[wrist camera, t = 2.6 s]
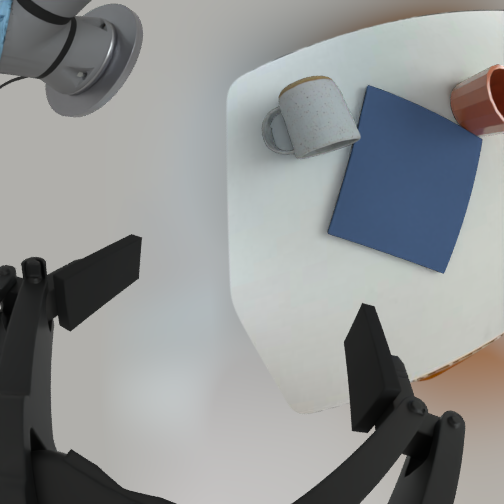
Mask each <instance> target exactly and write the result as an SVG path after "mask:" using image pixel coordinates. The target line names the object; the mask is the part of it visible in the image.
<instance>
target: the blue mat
mask: <svg viewBox="0 0 504 504" xmlns="http://www.w3.org/2000/svg"><path fill="white" fill-rule="evenodd" d="M357 129H358V131H359V133H360V136H361V138H360V140H358V141H357V142H355V143H353V147H352V150H351V154H350V158H349V162H348V165H347V169H346V172H345V176H344V179H343V183H342V186H341V190H340V193H339V196H338V200H337V203H336V206H335V210H334V213H333V216H332V219H331V222H330V226H329V229H328V234H330V235H334V236H337V237H340V238H343V239H346V240H349V241H352V242H355V243H358V244H361V245H364V246H367V247H370V248H373V249H376V250H379V251H382V252H385V253H388V254H391V255H393V256H396V257H399V258H402V259H405V260H408V261H411V262H413V263H416V264H419V265H422V266H424V267H427V268H430V269H433V270H435V271H438V272H441V273H444V272H445V270H446V267H447V265H448V262H449V260H450V257H451V255H452V252H453V249H454V246H455V244H456V241H457V238H458V235H459V232H460V229H461V226H462V223H463V220H464V217H465V213H466V210H467V206H468V203H469V199H470V196H471V192H472V188H473V184H474V180H475V175H476V171H477V166H478V161H479V156H480V151H481V145H482V139H481V138H479V137H478V136H476V135H474V134H473V133H471V132H469V131H468V130H466V129H464V128H462V127H461V126H459V125H457V124H455V123H453V122H452V121H450V120H448V119H446V118H444V117H442V116H440V115H438V114H436V113H434V112H432V111H430V110H428V109H426V108H424V107H422V106H419V105H417V104H415V103H413V102H410V101H408V100H406V99H403V98H401V97H399V96H396V95H394V94H391V93H389V92H386V91H384V90H381V89H378V88H375V87H373V86H370V85H368V86H367V89H366V93H365V98H364V102H363V106H362V111H361V115H360V119H359V123H358V127H357Z"/></svg>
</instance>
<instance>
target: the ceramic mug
mask: <svg viewBox="0 0 504 504" xmlns="http://www.w3.org/2000/svg"><path fill="white" fill-rule="evenodd" d="M279 105H280V106H279V107H277V108H275V109H273V110H272V111H270V112H269V113H268V114H267V115H266V117H265V118H264V121H263V124H262V135H263V139H264V141H265V144H266V145H267V147H268V148H269V149H271V150H272V151H274V152H276V153H279V154H296V157H297V158H298V159H303V158H309V157H313V156H317V155H320V154H324V153H327V152H331V151H334V150H337V149H340V148H342V147H345V146H348V145H351V144H353V143H355V142H357V141H358V140H360V138H361V136H360V133H359V131H358V129H357V127H356V124H355V122H354V119H353V117H352V115H351V113H350V110H349V108H348V106H347V104H346V102H345V100H344V98H343V95H342V93H341V91H340V89H339V88H338V86H337V85H336V84H335V82H334V81H333V80H332V79H330V78H329V77H325V76H312V77H307V78H303V79H301V80H298V81H296V82H294V83H292V84H290V85H288V86H287V87H285V88H284V89H283V90H282V91H281V93H280V95H279ZM280 112H281V113H282V115H283V118H284V121H285V123H286V126H287V129H288V132H289V136H290V139H291V142H292V145H293V148H294V149H293V150H291V151H285V150H281V149H279V148H278V147H277V146H276V145H275V143H274V140H273V136H272V132H271V130H272V128H271V126H270V125H271V122H272V120H273V118H274V117H275V116H276V115H277V114H279V113H280Z"/></svg>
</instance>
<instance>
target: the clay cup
mask: <svg viewBox="0 0 504 504" xmlns="http://www.w3.org/2000/svg"><path fill="white" fill-rule="evenodd" d="M450 101H451V108H452V112H453V114H454V117H455V119H456V120H457V122H458V124H459V125H460V126H461V127H462V128H464V129H466V130H468V131H469V132H471V133H473V134H474V135H476V136H490V135H498V134H504V66H502V65H499V64H497V65H494V66H491V67H489V68H487V69H485V70H484V71H482V72H480V73H478V74H476V75H474V76H472V77H470V78H468V79H467V80H465V81H463V82H461V83H459V84H458V85H457V86H455V87H454V89H453V90H452V93H451V99H450Z"/></svg>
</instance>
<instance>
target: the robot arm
mask: <svg viewBox="0 0 504 504" xmlns="http://www.w3.org/2000/svg"><path fill="white" fill-rule="evenodd" d="M90 1H91V0H0V73H2V74H10V75H17V76H21V77H17V78H14V79H12V80H9V81H8V82H6V83H4V84H2V85H1V86H0V88H2V87H3V86H5V85H7V84H9V83H11V82H14V81H17V80H20V79H24V78H28V77H30V78H37V79H41V80H42V81H43V82H45V83H46V84H47V85H49V86H50V87H51V88H53V89H54V90H55V91H57V92H59V93H61V94H65V95H71V96H73V95H78V94H80V93H82V92H84V91H86V90H87V89H89V88H90V87H91V86H92V85H94V84H95V83H96V82H97V80H98V79H99V78H100V77H101V76H102V74H103V73H104V72H105V70H106V69H107V67H108V65H109V63H110V62H111V59H112V57H113V55H114V52H115V49H116V44H117V31H116V28H115V27H114V25H113V24H112V23H111V22H109V21H107V20H105V19H102V18H98V17H82V16H75V15H77V14H78V12H80V10H82V9H83V8H84V7H85V6H86V5H87V4H88V3H89V2H90ZM141 241H142V237H138V236H135V235H132V234H131V235H129V236H127V237H125V238H123V239H121V240H119V241H117V242H115V243H113V244H111V245H109V246H107V247H105V248H103V249H101V250H99V251H97V252H95V253H93V254H91V255H89V256H87V257H85V258H83V259H79V260H75V261H73V262H71V263H69V264H68V265H65V266H63V267H62V268H60V269H57V270H56V271H54V272H52V273H50V274H48V275H47V271H46V261H45V260H44V259H42V258H39V257H31V258H28V259H25V260H24V261H23V262H22V263H21V265H22V273H23V278H20V277H17V276H16V270H15V268H14V267H13V266H7V265H5V266H1V267H0V305H1V309H0V504H176V503H173V502H171V501H168V500H166V499H163V498H160V497H155V496H150V495H146V494H142V493H137V492H133V491H129V490H126V489H124V488H122V487H121V486H120V485H118V484H117V483H116V482H115V481H114V480H113V479H111V478H110V477H109V476H108V475H107V474H106V473H105V472H103V471H102V470H101V469H100V468H99V467H98V466H97V465H95V464H94V463H92V462H90V461H88V460H87V459H86V458H84V457H82V456H81V455H79V454H78V453H76V452H75V451H73V450H72V449H71V450H70V451H69V452H68V454H65V453H61V452H58V451H57V450H56V447H55V444H54V440H53V433H52V418H51V357H52V342H53V330H54V321H53V318H54V317H56V316H57V315H58V318H59V324H60V326H62V327H64V328H65V329H67V330H69V331H72V330H73V329H74V328H75V327H77V326H78V325H79V324H80V323H82V322H83V321H84V320H85V319H87V318H88V317H89V316H90V315H92V314H93V313H94V312H95V311H97V310H98V309H99V308H101V307H102V306H103V305H104V304H106V303H107V302H108V301H110V300H111V299H112V298H113V297H115V296H116V295H117V294H119V293H120V292H121V291H123V290H124V289H125V288H127V287H128V286H129V285H131V284H132V283H133V282H135V281H136V280H137V279H139V267H140V253H141ZM344 347H345V355H346V364H347V374H348V384H349V395H350V408H351V422H352V431H356V432H365V433H368V432H369V431H370V429H372V427H373V426H374V425H375V430H376V431H375V432H374V433H373V434H372V435H371V436H370V437H369V438H368V439H367V440H366V441H365V442H364V443H363V444H362V445H361V446H360V447H359V448H358V449H357V450H356V451H355V452H354V453H353V454H352V455H351V456H350V457H349V458H348V459H347V460H346V461H344V462H343V463H342V464H341V465H340V466H339V467H338V468H337V469H335V470H334V471H333V472H332V473H331V474H330V475H328V476H327V477H326V478H325V479H324V480H322V481H321V482H320V483H319V484H317V485H316V486H315V487H314V488H312V489H311V490H310V491H308V492H307V493H306V494H305V495H303V496H302V497H300V498H299V499H298V500H296V501H295V502H294V503H292V504H360V503H361V501H362V500H363V499H364V498H365V497H366V496H367V495H368V494H369V493H370V492H371V491H372V490H373V488H374V487H375V486H376V485H377V484H378V483H379V482H380V480H381V479H382V478H383V477H384V476H385V474H386V473H387V472H388V471H389V469H390V468H391V467H392V466H393V464H394V463H395V462H396V460H397V459H398V458H399V456H400V455H401V454H404V455H407V457H406V460H405V462H404V465H403V468H402V470H401V473H400V476H399V478H398V481H397V483H396V486H395V488H394V490H393V493H392V495H391V497H390V500H389V502H388V504H453V503H454V499H455V495H456V489H457V485H458V479H459V474H460V468H461V462H462V454H463V446H464V435H465V422H464V420H463V418H462V417H461V416H460V415H459V414H458V413H456V412H454V411H446V412H445V413H444V414H443V415H442V416H441V417H438V416H435V415H432V414H429V413H428V409H427V406H426V405H425V403H424V402H422V400H420V399H419V398H416V397H414V393H413V390H412V387H411V384H410V381H409V379H408V375H407V373H406V369H405V366H404V364H403V362H402V361H401V360H400V358H399V357H398V356H393V355H391V353H390V350H389V347H388V344H387V341H386V338H385V335H384V332H383V329H382V326H381V323H380V321H379V318H378V315H377V312H376V310H375V307H374V306H371V305H368V304H364V303H362V305H361V307H360V309H359V311H358V314H357V316H356V318H355V320H354V322H353V324H352V327H351V329H350V331H349V333H348V335H347V337H346V339H345V341H344Z"/></svg>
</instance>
